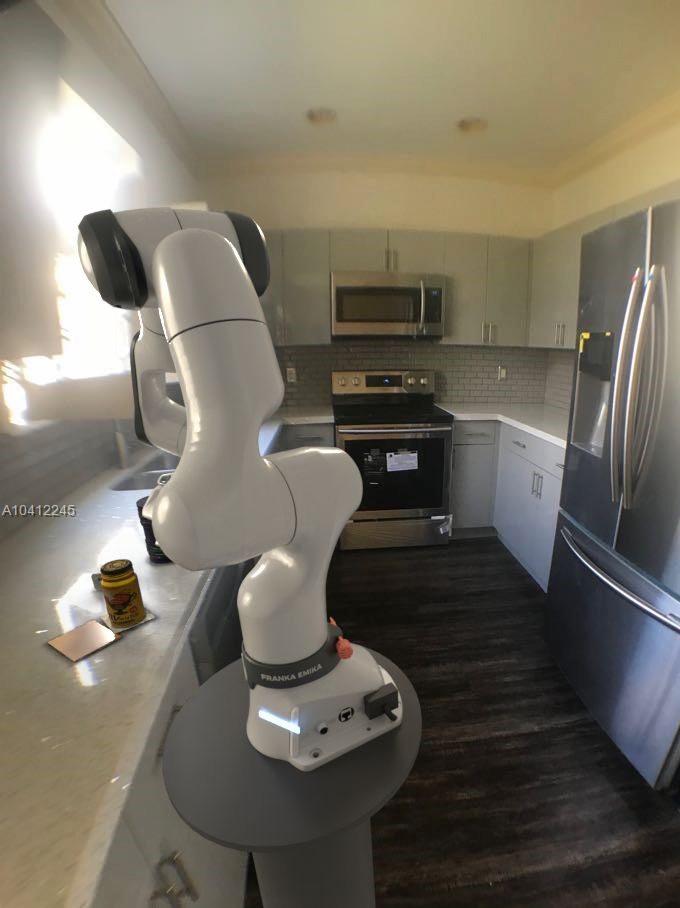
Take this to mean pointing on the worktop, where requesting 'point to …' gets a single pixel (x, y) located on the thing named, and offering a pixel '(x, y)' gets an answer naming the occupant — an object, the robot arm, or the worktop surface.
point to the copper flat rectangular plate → (84, 640)
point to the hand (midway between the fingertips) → (162, 547)
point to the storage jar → (151, 537)
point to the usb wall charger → (97, 578)
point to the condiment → (122, 596)
